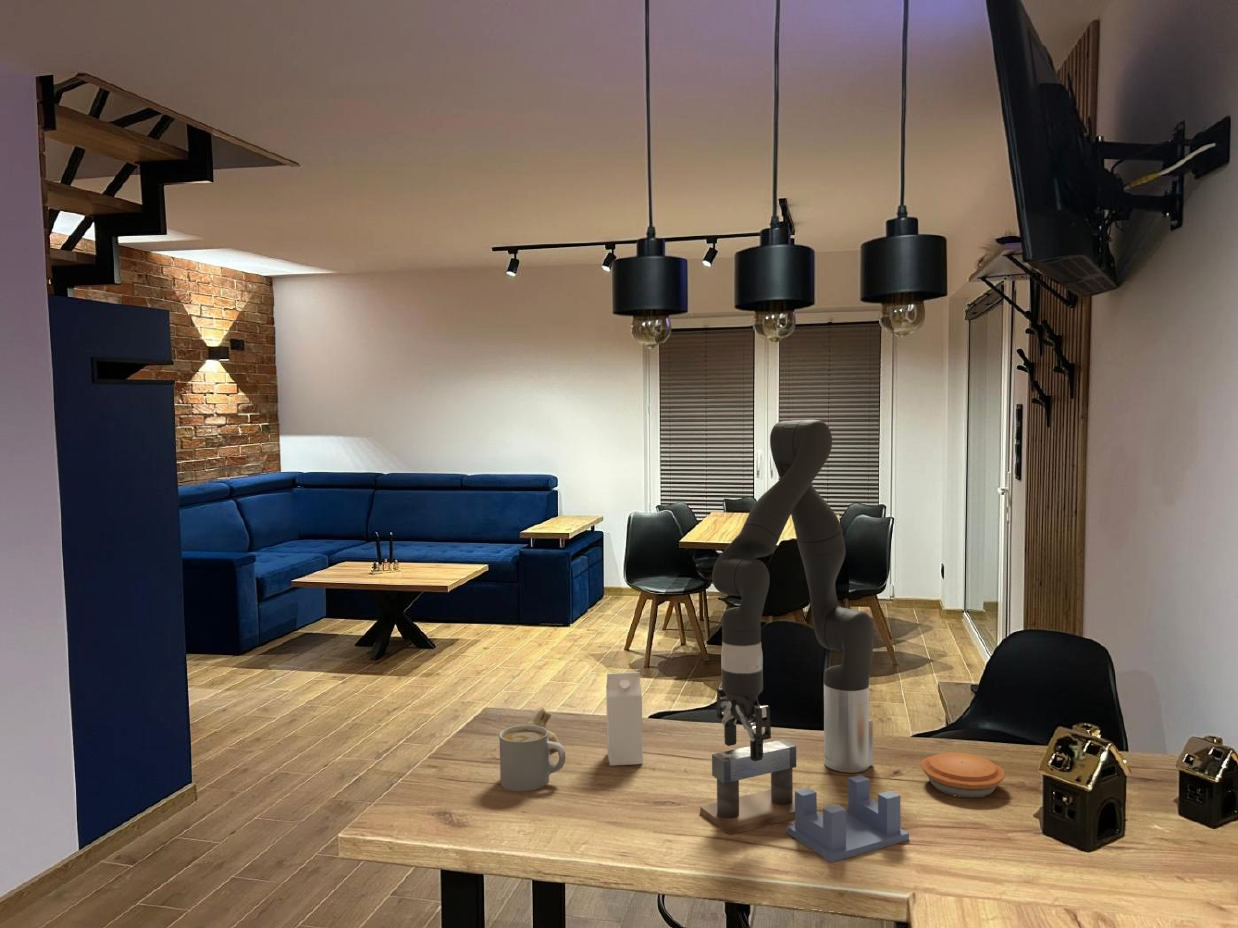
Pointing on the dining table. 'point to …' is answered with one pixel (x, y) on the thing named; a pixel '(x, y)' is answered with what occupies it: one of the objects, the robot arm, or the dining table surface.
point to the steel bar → (742, 767)
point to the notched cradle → (848, 822)
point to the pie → (962, 774)
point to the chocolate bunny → (544, 724)
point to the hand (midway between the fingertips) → (743, 752)
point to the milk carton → (624, 718)
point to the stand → (752, 804)
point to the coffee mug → (527, 757)
